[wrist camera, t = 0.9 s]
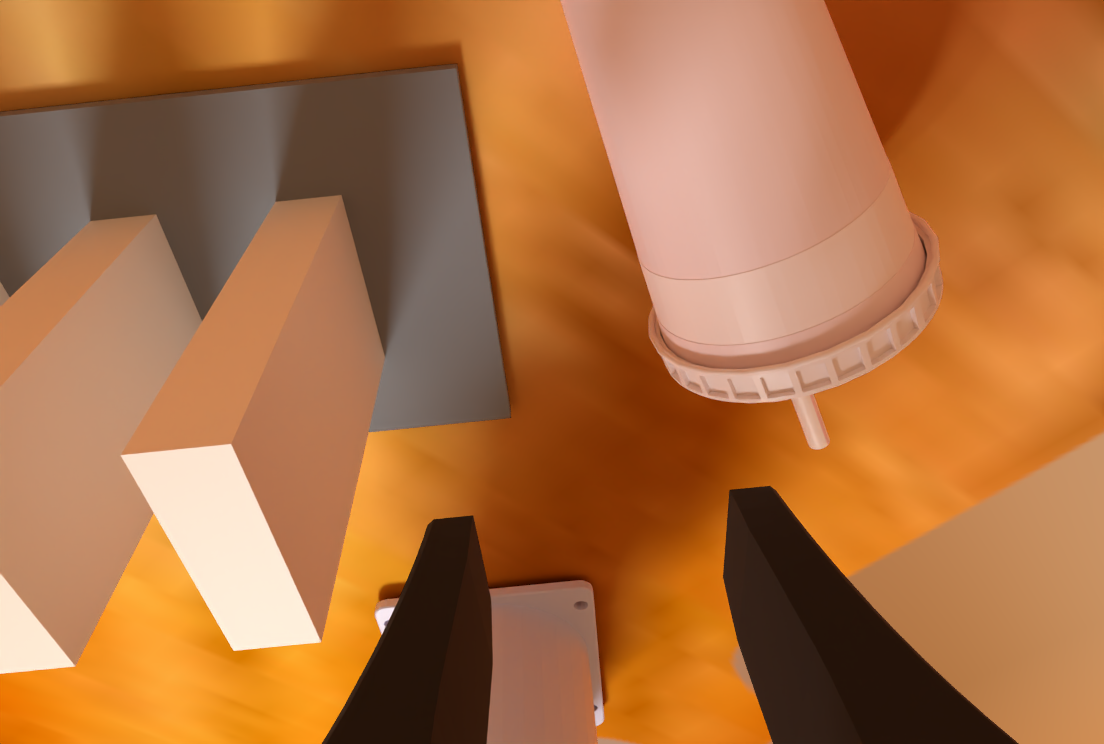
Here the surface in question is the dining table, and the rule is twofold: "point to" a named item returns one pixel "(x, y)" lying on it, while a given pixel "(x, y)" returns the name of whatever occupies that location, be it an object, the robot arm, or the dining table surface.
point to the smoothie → (755, 196)
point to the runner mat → (280, 175)
